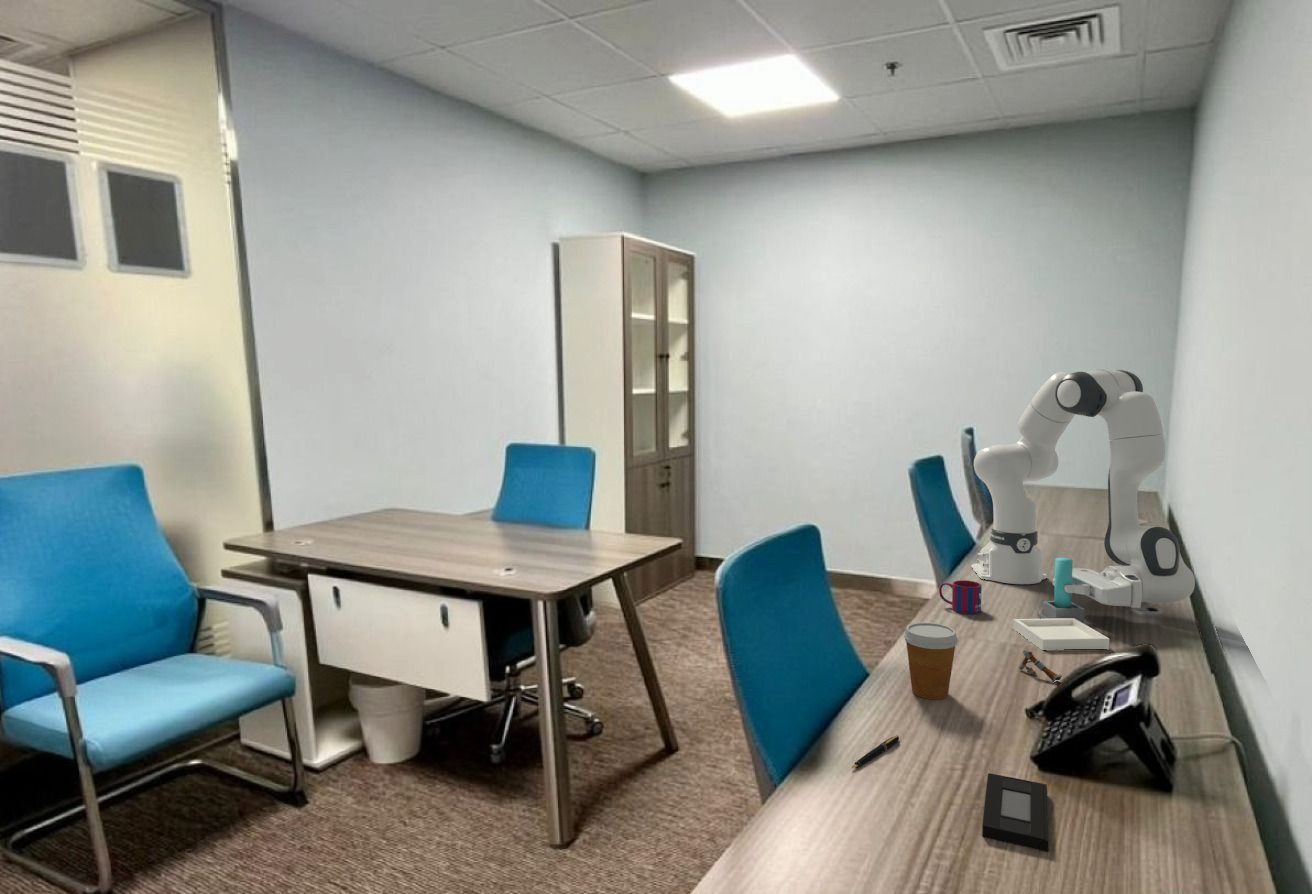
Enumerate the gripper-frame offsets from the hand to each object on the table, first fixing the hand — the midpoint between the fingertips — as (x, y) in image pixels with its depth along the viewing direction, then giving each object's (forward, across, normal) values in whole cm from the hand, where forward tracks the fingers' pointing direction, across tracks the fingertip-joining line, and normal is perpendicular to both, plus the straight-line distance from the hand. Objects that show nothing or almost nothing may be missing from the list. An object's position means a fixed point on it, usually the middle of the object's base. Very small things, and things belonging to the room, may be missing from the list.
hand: (1059, 585), depth 180 cm
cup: (+19, -11, +9) cm, 24 cm away
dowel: (-1, 0, +8) cm, 8 cm away
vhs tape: (+46, +80, +9) cm, 93 cm away
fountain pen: (+60, +63, +9) cm, 88 cm away
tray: (+6, +12, +9) cm, 16 cm away
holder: (-1, 0, +9) cm, 9 cm away
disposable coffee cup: (+44, +40, +9) cm, 60 cm away
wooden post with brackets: (+21, +34, +9) cm, 40 cm away
